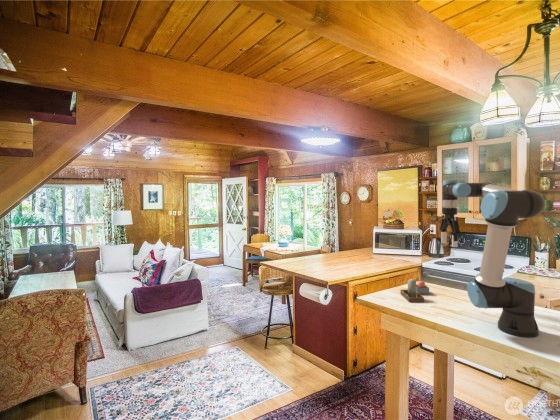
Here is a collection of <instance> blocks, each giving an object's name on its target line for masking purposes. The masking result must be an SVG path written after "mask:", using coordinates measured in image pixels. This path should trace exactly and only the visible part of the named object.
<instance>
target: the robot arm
mask: <svg viewBox="0 0 560 420" xmlns="http://www.w3.org/2000/svg"><path fill="white" fill-rule="evenodd" d="M458 198H482V199H481V203H480V214H481V216H482V218H484V221H485V223H487V229H486V236H485V241H484V247H483V252H482V258H481V263H480V268H479V273H478V274H477V273H476V274H475V276H474V280H472V281H470V282H468V283H467V286H466V288H467V289H466V292H467V296H468V298H469V301H470V302H471V304H472V305H473V306H474V307H476V308H477V309H478V308H479V309H502V310H501V311H502V312H501V314H500V316H499V318H498V319H497V328H498V329H499V330H500V331H502V332H503V333H506V334H508V335H511V336H517V337H520V338H521V337H522V338H535V337H538V336H539V334H540V333H539V332H540V331H539V327H538V323H537V320H536V317H535V305H536V304H535V303H536V302H535V298H536V288H535V287H536V286H535V285H534V283H532V282H530V281H527V280H525V279H520V278H516V277H509V276H508V277H504V278H503V275H504V271H505V265H506V260H507V255H508V251H509V248H510V247H509V246H510V241H511V237H512V231H513V228H515V227H517V226H518V224H519V220H522V219H526V220H527V219H533V218H535V217H537V216H539V215H540V214H542V213H543V211H544V209H545V207H546V201H545V198H544V196H543V195H542V194H541V193H539V192H537V191H534V190H529V189H523V190H517V189H514V188H509V187H504V186H500V185H497V184H496V183H495V182H459V181H458V180H457V179H444V180H443V181H442V200H441V201H442V202H441V209H442V210H441V214H442V215H441V221H440V225H439V231H440V232H441V233H440V234H441V236H440V237H441V240H440V241H441V242H440V243H441V244H447V239H448V238H447V236H448V235H447V233H448V227H449V226H450V229H451V232H452V233H451V247H452V248H458V246H459V237H458V236H459V235H461V231H460V226H459V221H458V218H459V217H458V216H455V215H458V203H459V202H458Z"/></svg>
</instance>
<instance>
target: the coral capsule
mask: <svg viewBox="0 0 560 420" xmlns="http://www.w3.org/2000/svg"><path fill="white" fill-rule="evenodd" d="M417 285H418V287H421V288H425V285H426V282H425V281H424V280H417Z"/></svg>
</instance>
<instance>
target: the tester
mask: <svg viewBox="0 0 560 420" xmlns="http://www.w3.org/2000/svg"><path fill="white" fill-rule="evenodd" d="M416 291H417V292H418V293H419V294H420V295H430V287H428V286H427V284H425V288H421V287H418V284H416Z"/></svg>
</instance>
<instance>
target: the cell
mask: <svg viewBox="0 0 560 420" xmlns="http://www.w3.org/2000/svg"><path fill="white" fill-rule="evenodd" d="M416 285H417V281H416V279H412V278H410V279H407V290H408V296H409V297H416Z"/></svg>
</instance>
